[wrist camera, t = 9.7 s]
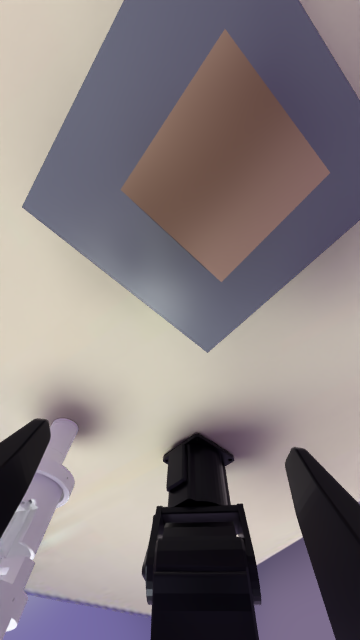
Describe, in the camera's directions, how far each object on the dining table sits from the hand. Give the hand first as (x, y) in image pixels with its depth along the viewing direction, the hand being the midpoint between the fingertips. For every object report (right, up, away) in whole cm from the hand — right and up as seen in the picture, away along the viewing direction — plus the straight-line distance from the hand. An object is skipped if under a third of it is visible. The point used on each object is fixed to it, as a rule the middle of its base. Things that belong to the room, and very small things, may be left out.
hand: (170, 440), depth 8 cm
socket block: (+2, +13, +7) cm, 15 cm away
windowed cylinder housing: (-13, -8, +18) cm, 24 cm away
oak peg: (+2, +13, +7) cm, 14 cm away
